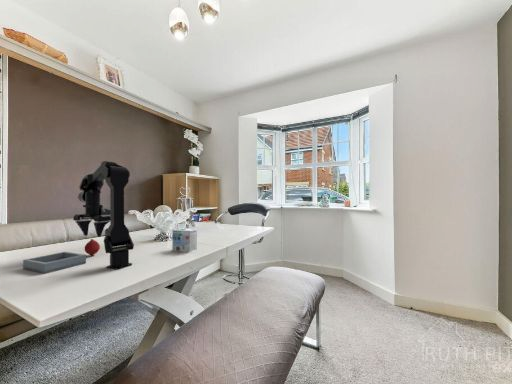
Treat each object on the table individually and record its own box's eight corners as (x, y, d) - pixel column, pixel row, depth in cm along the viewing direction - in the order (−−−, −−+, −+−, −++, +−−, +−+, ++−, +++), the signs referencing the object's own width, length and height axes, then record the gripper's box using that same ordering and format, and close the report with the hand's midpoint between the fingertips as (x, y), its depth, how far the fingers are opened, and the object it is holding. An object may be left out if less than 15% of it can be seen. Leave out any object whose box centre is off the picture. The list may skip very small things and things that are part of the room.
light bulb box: (171, 250, 117) (171, 229, 117) (179, 248, 123) (179, 227, 123) (190, 252, 114) (190, 230, 114) (197, 249, 120) (197, 228, 120)
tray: (85, 263, 95) (86, 254, 95) (44, 273, 82) (44, 264, 82) (64, 259, 101) (65, 251, 101) (23, 269, 88) (23, 259, 88)
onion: (102, 254, 110) (102, 237, 110) (93, 257, 104) (93, 239, 104) (91, 253, 111) (91, 237, 111) (81, 257, 105) (81, 239, 105)
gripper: (122, 202, 112) (122, 234, 112) (96, 202, 119) (96, 232, 118) (99, 203, 101) (99, 238, 101) (72, 202, 108) (72, 236, 108)
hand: (92, 236), depth 107 cm, fingers open, 9 cm apart
